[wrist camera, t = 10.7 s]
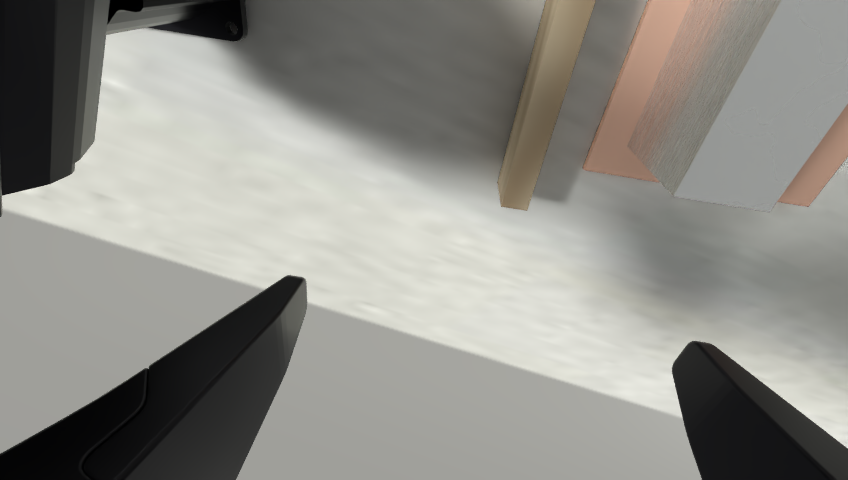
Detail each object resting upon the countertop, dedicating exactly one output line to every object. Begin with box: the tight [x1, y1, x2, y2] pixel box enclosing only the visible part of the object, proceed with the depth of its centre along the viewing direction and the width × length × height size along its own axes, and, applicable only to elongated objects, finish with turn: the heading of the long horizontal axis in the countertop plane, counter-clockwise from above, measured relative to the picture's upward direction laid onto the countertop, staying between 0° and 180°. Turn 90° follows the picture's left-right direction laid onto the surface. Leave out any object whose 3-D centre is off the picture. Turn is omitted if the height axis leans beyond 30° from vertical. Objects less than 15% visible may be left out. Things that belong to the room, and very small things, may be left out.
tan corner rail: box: [497, 0, 596, 211], centre depth 14 cm, size 15×18×2 cm
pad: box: [583, 0, 848, 207], centre depth 16 cm, size 11×13×1 cm
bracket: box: [627, 0, 848, 212], centre depth 14 cm, size 10×8×5 cm
